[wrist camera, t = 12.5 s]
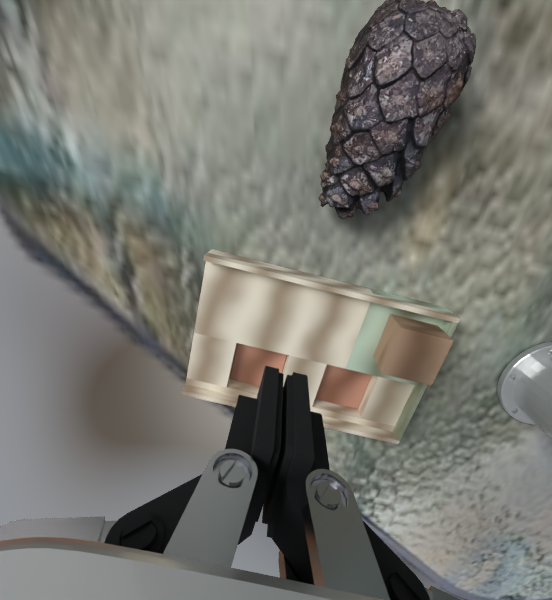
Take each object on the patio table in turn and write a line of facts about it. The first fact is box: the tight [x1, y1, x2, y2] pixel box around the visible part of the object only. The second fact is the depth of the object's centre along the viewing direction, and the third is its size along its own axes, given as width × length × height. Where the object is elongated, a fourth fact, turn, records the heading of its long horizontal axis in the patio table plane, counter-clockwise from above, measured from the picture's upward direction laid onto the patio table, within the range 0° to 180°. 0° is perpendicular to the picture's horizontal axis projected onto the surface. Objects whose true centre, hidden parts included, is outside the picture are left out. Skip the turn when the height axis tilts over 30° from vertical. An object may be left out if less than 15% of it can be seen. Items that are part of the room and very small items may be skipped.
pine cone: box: [319, 0, 476, 219], centre depth 28 cm, size 10×18×10 cm, turn 168°
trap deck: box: [182, 250, 460, 444], centre depth 40 cm, size 30×19×4 cm, turn 76°
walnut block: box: [373, 314, 454, 386], centre depth 37 cm, size 6×6×4 cm
